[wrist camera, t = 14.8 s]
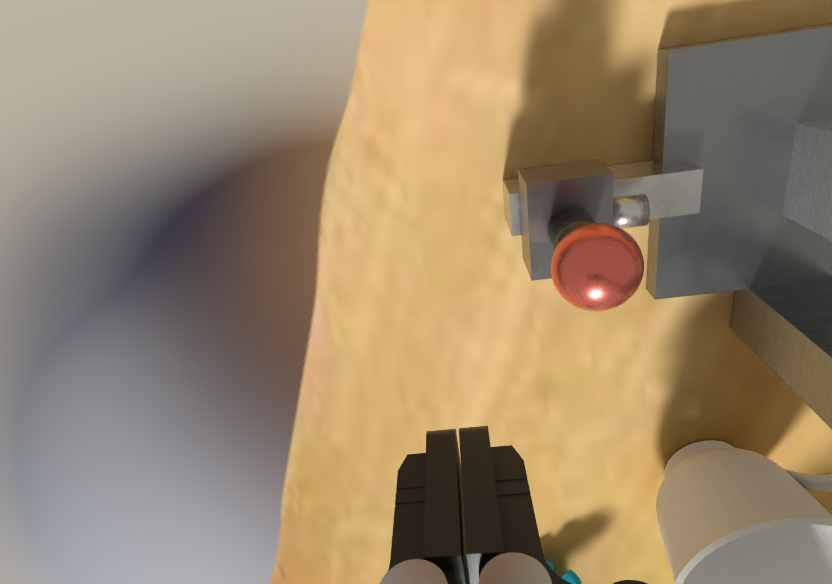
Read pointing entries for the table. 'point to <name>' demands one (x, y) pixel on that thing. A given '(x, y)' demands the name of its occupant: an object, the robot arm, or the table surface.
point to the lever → (581, 233)
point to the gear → (567, 575)
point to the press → (738, 195)
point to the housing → (811, 178)
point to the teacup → (742, 519)
